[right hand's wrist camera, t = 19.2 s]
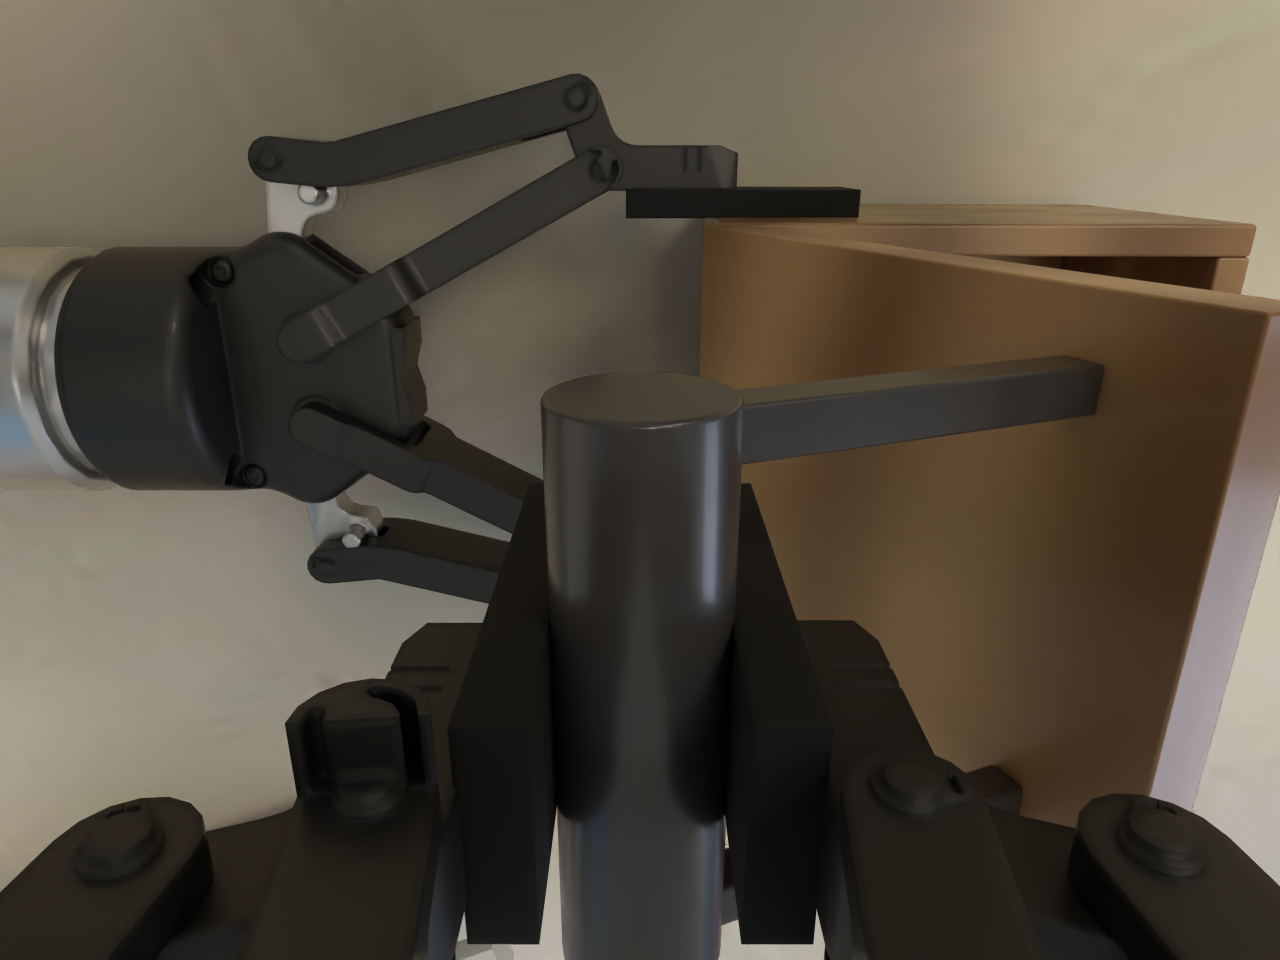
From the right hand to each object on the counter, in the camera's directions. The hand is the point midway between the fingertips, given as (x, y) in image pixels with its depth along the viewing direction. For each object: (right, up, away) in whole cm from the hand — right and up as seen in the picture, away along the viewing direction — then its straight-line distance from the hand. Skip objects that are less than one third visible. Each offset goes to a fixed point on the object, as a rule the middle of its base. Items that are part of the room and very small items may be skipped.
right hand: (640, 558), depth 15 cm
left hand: (+6, +5, +13) cm, 15 cm away
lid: (+5, +1, +3) cm, 6 cm away
